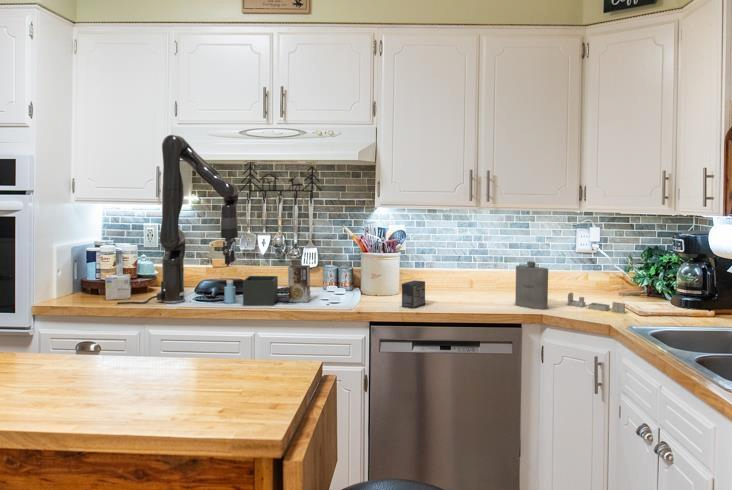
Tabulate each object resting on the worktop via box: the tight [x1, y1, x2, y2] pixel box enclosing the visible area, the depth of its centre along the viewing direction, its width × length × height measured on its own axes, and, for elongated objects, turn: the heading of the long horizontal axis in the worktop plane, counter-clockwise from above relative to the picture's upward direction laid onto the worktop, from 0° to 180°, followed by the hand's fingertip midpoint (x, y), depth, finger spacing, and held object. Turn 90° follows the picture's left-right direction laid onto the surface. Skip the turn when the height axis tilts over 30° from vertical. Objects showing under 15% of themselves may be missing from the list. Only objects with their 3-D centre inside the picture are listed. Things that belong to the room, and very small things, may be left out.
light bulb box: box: [104, 273, 132, 301], centre depth 286 cm, size 11×7×11 cm, turn 108°
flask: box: [514, 260, 549, 310], centre depth 272 cm, size 15×6×20 cm, turn 48°
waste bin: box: [242, 275, 279, 307], centre depth 278 cm, size 13×13×11 cm
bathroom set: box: [567, 292, 626, 314], centre depth 269 cm, size 25×5×5 cm, turn 48°
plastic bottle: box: [223, 279, 236, 304], centre depth 278 cm, size 5×5×10 cm
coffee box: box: [287, 264, 311, 303], centre depth 282 cm, size 9×6×16 cm
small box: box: [401, 280, 426, 309], centre depth 273 cm, size 11×6×10 cm, turn 145°
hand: (229, 262), depth 277 cm, fingers open, 8 cm apart
